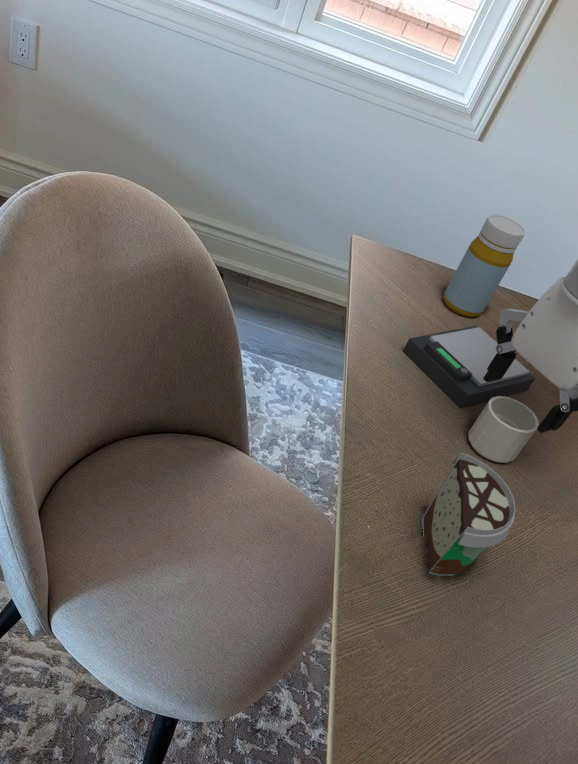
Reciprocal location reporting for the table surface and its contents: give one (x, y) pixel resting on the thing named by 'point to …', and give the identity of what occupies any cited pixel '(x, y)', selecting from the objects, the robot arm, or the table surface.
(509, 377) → the scale
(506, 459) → the cup
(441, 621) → the table surface
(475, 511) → the food container
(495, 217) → the bottle
